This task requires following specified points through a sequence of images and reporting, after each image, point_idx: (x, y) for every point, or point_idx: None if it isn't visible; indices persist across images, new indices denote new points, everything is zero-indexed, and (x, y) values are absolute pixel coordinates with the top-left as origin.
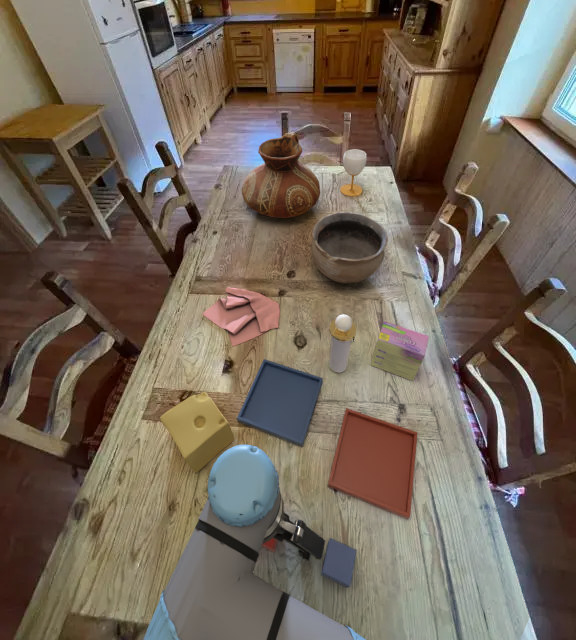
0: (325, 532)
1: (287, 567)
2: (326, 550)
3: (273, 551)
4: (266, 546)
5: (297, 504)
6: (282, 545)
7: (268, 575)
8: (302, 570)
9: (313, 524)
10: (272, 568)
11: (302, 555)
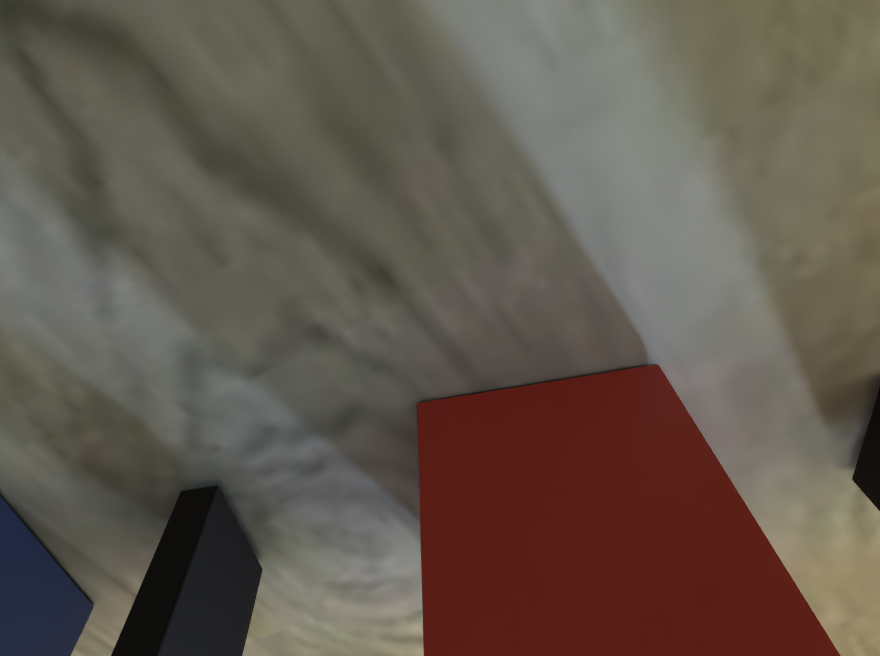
0: None
1: (249, 381)
2: (27, 645)
3: (422, 438)
4: (511, 591)
5: (413, 641)
6: (379, 460)
7: (369, 253)
8: (126, 425)
9: (250, 622)
10: (366, 312)
11: (134, 611)
